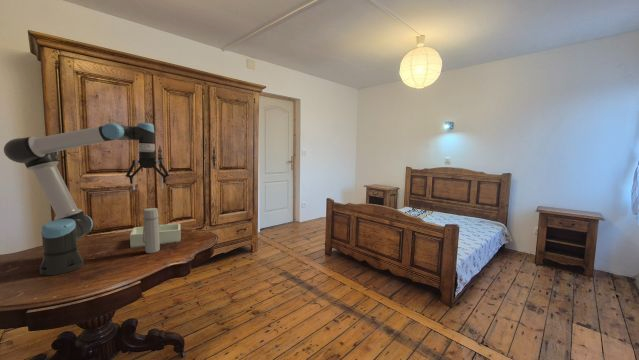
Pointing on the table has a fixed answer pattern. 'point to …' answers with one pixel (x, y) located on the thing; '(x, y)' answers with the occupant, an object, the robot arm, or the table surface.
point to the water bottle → (151, 230)
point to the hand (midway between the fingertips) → (148, 189)
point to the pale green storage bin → (166, 235)
